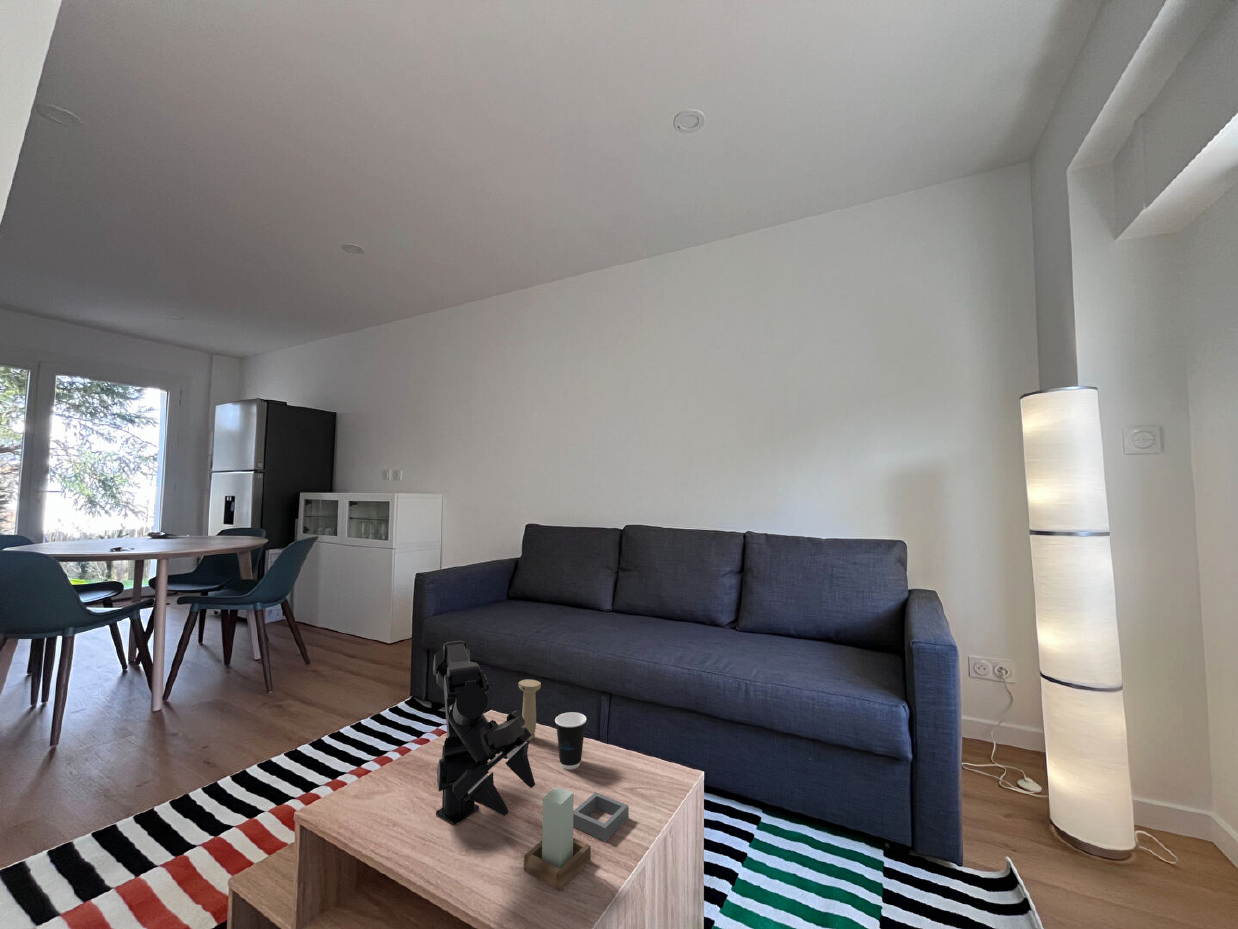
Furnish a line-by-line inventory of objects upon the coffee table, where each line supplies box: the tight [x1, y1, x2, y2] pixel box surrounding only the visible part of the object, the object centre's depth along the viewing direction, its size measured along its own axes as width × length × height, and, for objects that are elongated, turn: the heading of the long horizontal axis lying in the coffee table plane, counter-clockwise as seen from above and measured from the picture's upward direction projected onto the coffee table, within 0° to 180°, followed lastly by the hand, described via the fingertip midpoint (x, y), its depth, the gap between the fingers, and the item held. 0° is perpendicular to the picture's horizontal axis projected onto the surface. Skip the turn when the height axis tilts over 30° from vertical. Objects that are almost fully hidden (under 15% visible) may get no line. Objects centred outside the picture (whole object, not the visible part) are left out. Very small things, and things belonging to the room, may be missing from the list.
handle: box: [518, 678, 542, 742], centre depth 136 cm, size 5×6×15 cm
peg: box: [541, 786, 575, 869], centre depth 88 cm, size 4×4×12 cm
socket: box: [573, 792, 630, 842], centre depth 100 cm, size 8×8×2 cm
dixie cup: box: [554, 711, 587, 770], centre depth 122 cm, size 8×8×11 cm
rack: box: [523, 837, 592, 892], centre depth 88 cm, size 8×8×2 cm
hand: (520, 799), depth 92 cm, fingers open, 9 cm apart
